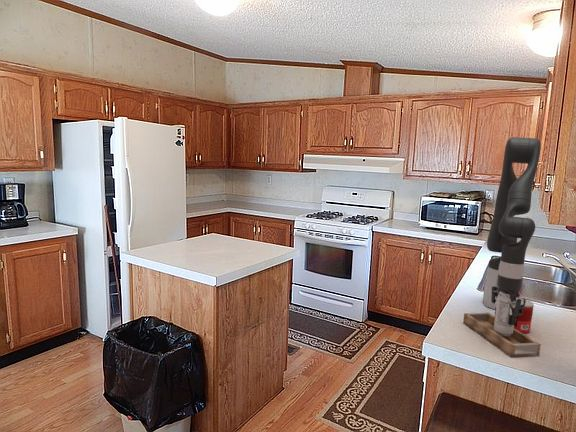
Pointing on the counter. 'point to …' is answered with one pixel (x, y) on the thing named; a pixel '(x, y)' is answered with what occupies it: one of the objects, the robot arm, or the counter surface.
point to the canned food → (525, 318)
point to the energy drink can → (503, 315)
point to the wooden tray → (509, 345)
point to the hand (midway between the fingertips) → (504, 320)
